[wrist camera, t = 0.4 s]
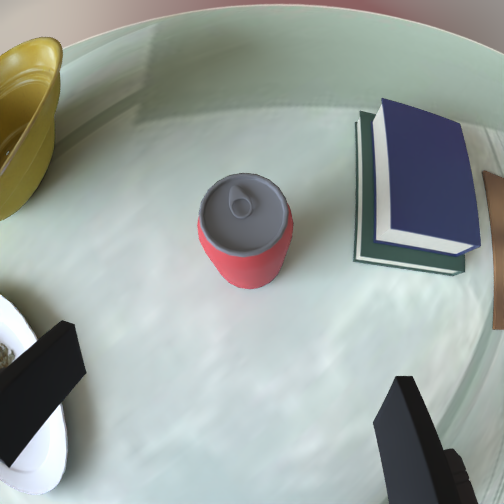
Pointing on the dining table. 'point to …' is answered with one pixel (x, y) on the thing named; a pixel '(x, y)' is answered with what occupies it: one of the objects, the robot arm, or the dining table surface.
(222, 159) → the dining table surface
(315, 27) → the dining table surface
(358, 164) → the green notebook
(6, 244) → the dining table surface
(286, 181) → the dining table surface
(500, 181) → the brown wooden board
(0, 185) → the planter bowl
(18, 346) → the plated food
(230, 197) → the beer can
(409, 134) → the navy book
